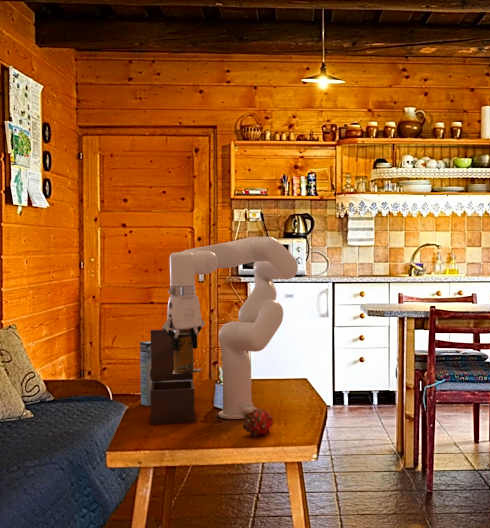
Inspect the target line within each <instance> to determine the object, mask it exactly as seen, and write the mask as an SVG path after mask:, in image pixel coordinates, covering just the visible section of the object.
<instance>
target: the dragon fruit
mask: <svg viewBox="0 0 490 528" xmlns="http://www.w3.org/2000/svg"><path fill="white" fill-rule="evenodd" d="M273 424H274V419H273V418H272V416H271V415H270V413H269V412H268V411H266V410H265V409H263V408H259V409H258V408H257V410H254V411H252V412H250V413H249V414H246V415H245V416H244V421H243V425H242V428H243V430H245V431H246V432H247V433H250V434H251V435H252V436H254V437H259V436H260V435H268V434H269V433H270V429H271V427H272V426H273Z"/></svg>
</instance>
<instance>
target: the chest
mask: <svg viewBox="0 0 490 528" xmlns="http://www.w3.org/2000/svg"><path fill="white" fill-rule="evenodd" d="M150 392H151V406H150V425H165V424H166V425H167V424H182V423H185V424H186V423H195V422H196V416H195V415H196V412H195V411H196V409H195V386H194V380H193V381H174V382H153V383H152V384H151V391H150Z"/></svg>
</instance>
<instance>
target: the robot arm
mask: <svg viewBox="0 0 490 528" xmlns="http://www.w3.org/2000/svg"><path fill="white" fill-rule="evenodd" d="M250 263H251V264H252V263H253V266H252V267H253V269H252V271H253V277H254V287H253V289H252V291H251V292H250V294H249V295H248V296H247V298H246V300H245V301H244V302H243V304H241V306H240V309H239V310H238V313H237V318H238V321H228V322H226V323H224V324H223V325H222V326H221V327H220V329H219V330H218V331H219V332H218V343H219V347H220V352H221V364H222V365H221V368H222V369H221V370H222V375H221V376H222V410H221V411H219V412H218V414H217V415H218V417H219V418H221V419H225V420H242V419H243V420H245V418H244V416H245V415H246V414H249V413H250V412H252V411H254V410H258V407H255V406H254V402H252V401H253V400H252V362H251V357H250V355H249V353H248V352H252V353H253V352H254V353H255V352H261V351H263V350H264V349H265V348H267V346H268V344H269V343H270V342H271V340H272V339H273V337H274V336H275V334H276V333H277V331H278V329H279V328H280V327H281V325H282V323H283V320H284V308H283V305H282V304H281V303H280V302H278V301H276V300H277V295H278V294H277V290H276V287H275V283H274V280H291V279H293V278H295V276H296V275H297V273H298V271H299V264H298V261H297V260H296V257H295V256H294V255H293V254H292V253H291V252H290V251H289V250H288V249H287V247H285V246H284V245H283V244H282V243H281V242H280V241H279V240H277V239H276V238H274V237H272V236H249V237H244V238H240V239H236V240H232V241H227V242H221V243H216V244H211V245H204V246H200V247H193V248H189V249H185V250H181V251H177V252H176V251H175V252H172V253H170V255H169V286H170V287H169V289H167V293H168V294H169V295H170V296H169V297H168V300H167V301H168V303H167V314H166V317H167V318H166V321H165V323H164V324H163V325H162V327H161V328H162V329H161V330H164V331H165V332H166V333H167V334H168V335H169V337H170V338H171V347H172V351H179V350H180V341H179V338H178V334H179V331H180V329H189V331H190V334H191V338H192V340H191V341H192V342H193V350H194V349H195V350H196V349H198V336H199V335H200V333H201V331H202V328H204V326H205V324H206V322H205V320H203V318H202V312H201V303H200V299H199V296H198V295H196V275H209V274H212V273H214V272H215V271H216V270H217V269H229V268H235V267H239V266H242V265H246V264H250ZM170 329H171V330H170Z"/></svg>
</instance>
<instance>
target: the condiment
mask: <svg viewBox="0 0 490 528" xmlns="http://www.w3.org/2000/svg"><path fill="white" fill-rule="evenodd" d="M178 338H179V341H180V350H179V351H173V353H174V371H173V373H172V374H181V373H193V374H195V373H201V371H202V368H195V363H194V362H195V361H194V348H193V342H192V341H191V340H192V338H191V334H190V333H179V334H178Z"/></svg>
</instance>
